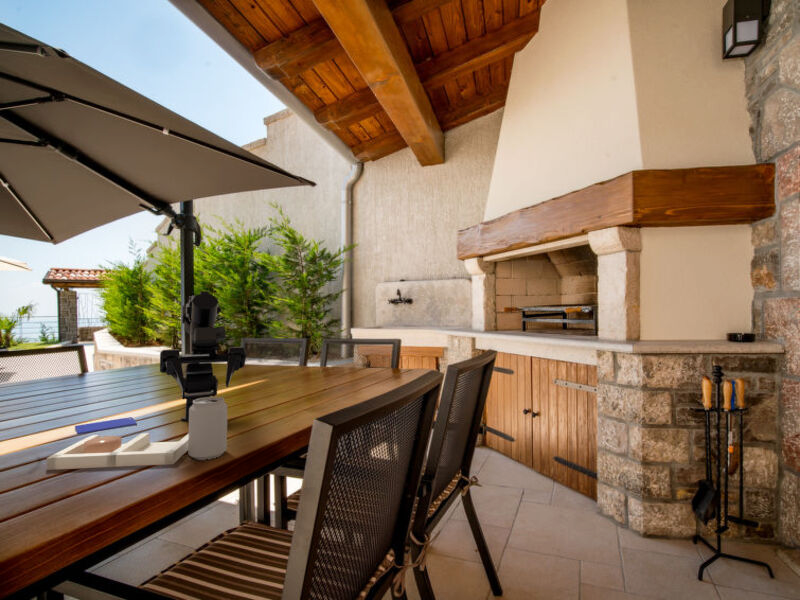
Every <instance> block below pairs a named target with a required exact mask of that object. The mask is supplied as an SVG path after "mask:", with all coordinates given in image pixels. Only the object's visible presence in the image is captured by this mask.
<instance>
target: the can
mask: <svg viewBox="0 0 800 600" xmlns="http://www.w3.org/2000/svg"><path fill="white" fill-rule="evenodd" d="M188 433H189V442H188V452H187V454H188V455H189V457H191V458H193V460H196V461H207V460H206V459H208V460H212V458H213V459H216V457H217V458H219V457H222V455H223V454H224V453H225V452H226V451H227V449H228V441H227V440H228V404H227V403H226V402H225V397H221V396H214V397H213V396H211V397H205V398H199V399H196V400H194V401H193V405H192V406H191V407H190V408H189V421H188Z"/></svg>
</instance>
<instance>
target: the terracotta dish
mask: <svg viewBox="0 0 800 600" xmlns="http://www.w3.org/2000/svg"><path fill="white" fill-rule="evenodd" d="M122 440H123V439H122V436H120V435H107V436H100V437H98V438H94V439H91V440H88V441H86V442H84V454H87V453H111V452H113V451H115V450H116V449H118V448H120V447H121V444H122Z"/></svg>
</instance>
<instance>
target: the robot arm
mask: <svg viewBox="0 0 800 600" xmlns="http://www.w3.org/2000/svg"><path fill="white" fill-rule="evenodd" d="M181 308H182V309H181V324H183V327H184V328H183V330H184V331H185V332H186V333H187V334H189V345H190V351H189V353H190V354H189V353H187V354H186V353H185V354H180V349H176V348H175V349H162V351H160V352H159V372H160V373H162V374H166V375H167V376H171V377H172V378H173V379H174V380H175V381H176V382H177V384H178V386H179V387H180V388H179V389H180V390H181V399H182V400H186V403H185V416H183V417H181V418H180V421H186V422H187V421H188V422H189V408H190V407H191V406H192V405H193V401H194V400H196V399H199V398H205V397H216V396H217V395H218V386H219V380H218V379H217V376H216V375H215V374H214V369H213V364H217V363H226V365H227V366H226V373H225V387H226V388H229V385H230V382H231V379H232V376H233V375H234V373H235V372H236V371H238V370H240V369H242V368H244V367H245V363H246V358H247V349H246V348H245V347H244V346H231V347H228V351H227V353H218V350H219V342H218V341H220V342H221V341H225V340H226V327H225V325H218V326H216V327H215V322H216V320H217V317H218V316H219V314H220V313H221V312H222V307H220V306H219V300H218V298H217V297H216V296H215V295H212V294H210V292H209V290H208V291H202V290H201V291H200V292H199V294H197V295H191V296H188V301H187V302H186V303H185V304H183V306H182V307H181ZM183 364H184V365H185V364H187V365H186V368H185V376H184V372H183Z"/></svg>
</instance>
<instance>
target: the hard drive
mask: <svg viewBox="0 0 800 600" xmlns="http://www.w3.org/2000/svg"><path fill="white" fill-rule="evenodd" d="M131 426H132V427H134V426H135V427H137V426H138V423H137V421H136V420H135V419H134V418H133V416H129V417H124V418H123V417H122V418H116V419H111V420H105V421H104V420H103V421H97V422H92V423H91V422H90V423H84V424H78V425H77V424H76V425H74V431H75V433H76V435H82V434H83V435H84V434H89V433H95V432H103V431H108V430H114V429H120V428H127V427H131Z"/></svg>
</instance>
